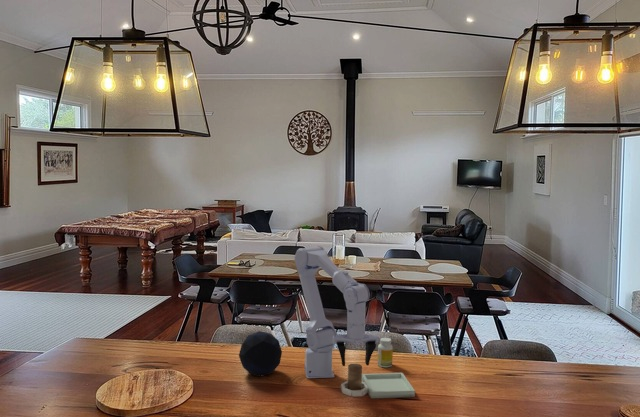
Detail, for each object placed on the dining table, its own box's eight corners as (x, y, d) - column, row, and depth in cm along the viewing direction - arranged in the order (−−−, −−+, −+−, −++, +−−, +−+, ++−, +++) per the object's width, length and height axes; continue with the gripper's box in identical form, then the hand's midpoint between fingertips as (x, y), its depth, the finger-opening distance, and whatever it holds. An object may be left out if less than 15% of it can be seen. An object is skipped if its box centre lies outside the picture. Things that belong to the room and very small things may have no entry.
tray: (370, 398, 154) (371, 392, 154) (361, 379, 168) (361, 373, 167) (414, 396, 155) (414, 390, 155) (402, 378, 169) (402, 372, 169)
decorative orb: (235, 349, 179) (238, 324, 169) (276, 346, 183) (281, 321, 173) (239, 386, 169) (242, 361, 159) (282, 381, 173) (288, 357, 163)
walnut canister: (349, 393, 157) (349, 369, 156) (346, 387, 161) (347, 363, 161) (362, 393, 157) (363, 368, 157) (359, 387, 162) (360, 363, 161)
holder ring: (343, 396, 155) (343, 392, 154) (339, 385, 163) (339, 380, 163) (370, 395, 156) (370, 391, 155) (364, 384, 164) (364, 380, 164)
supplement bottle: (374, 364, 181) (375, 338, 181) (384, 361, 185) (385, 335, 184) (385, 369, 177) (385, 342, 176) (395, 365, 180) (396, 339, 180)
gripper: (335, 327, 153) (334, 370, 154) (381, 326, 155) (380, 368, 155) (332, 320, 160) (331, 361, 161) (376, 319, 162) (375, 360, 162)
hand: (355, 364), depth 159 cm, fingers open, 7 cm apart
